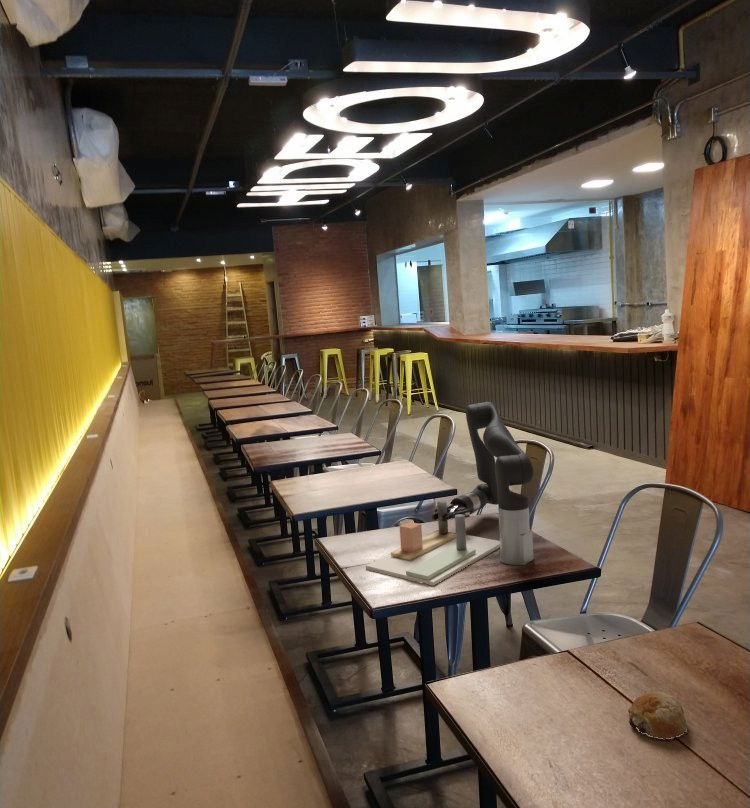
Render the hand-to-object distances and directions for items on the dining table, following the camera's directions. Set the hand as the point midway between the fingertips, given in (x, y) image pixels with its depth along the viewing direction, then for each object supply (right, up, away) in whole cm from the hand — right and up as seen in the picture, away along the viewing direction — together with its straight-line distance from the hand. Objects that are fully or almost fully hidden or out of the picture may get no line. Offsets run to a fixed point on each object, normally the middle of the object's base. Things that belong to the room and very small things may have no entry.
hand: (437, 518), depth 240 cm
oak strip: (-5, -8, -5) cm, 11 cm away
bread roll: (+32, -22, -108) cm, 114 cm away
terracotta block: (-9, -8, -11) cm, 16 cm away
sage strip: (-1, -10, -22) cm, 24 cm away
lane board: (-1, -11, -12) cm, 16 cm away
